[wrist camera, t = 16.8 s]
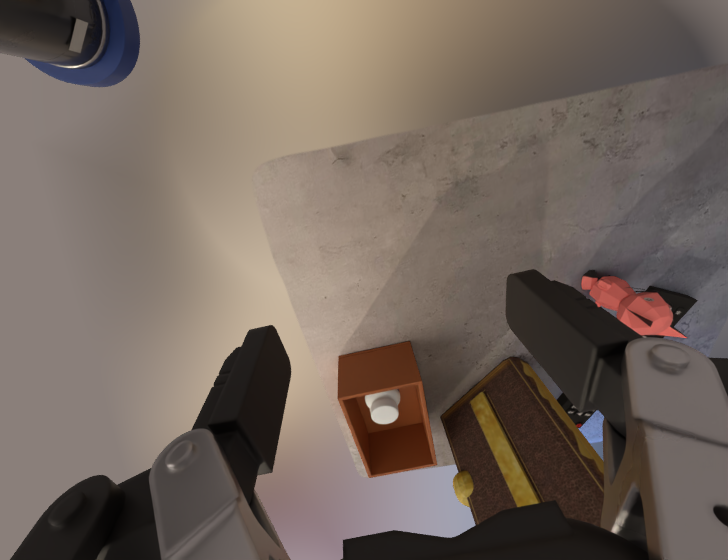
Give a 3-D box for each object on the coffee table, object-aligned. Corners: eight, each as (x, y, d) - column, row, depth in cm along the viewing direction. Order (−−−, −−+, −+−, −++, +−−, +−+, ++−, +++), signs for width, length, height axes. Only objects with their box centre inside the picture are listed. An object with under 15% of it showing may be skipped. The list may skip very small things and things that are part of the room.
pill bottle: (394, 353, 49) (405, 401, 40) (393, 376, 51) (403, 426, 43) (362, 355, 48) (365, 404, 40) (363, 378, 51) (366, 429, 42)
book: (506, 351, 51) (631, 525, 29) (538, 369, 53) (675, 542, 31) (426, 423, 59) (475, 602, 37) (457, 436, 61) (520, 611, 39)
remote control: (542, 417, 60) (548, 426, 58) (649, 285, 46) (662, 292, 44) (573, 422, 61) (580, 431, 60) (687, 295, 47) (700, 301, 46)
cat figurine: (626, 270, 44) (714, 316, 34) (596, 307, 47) (669, 359, 37) (589, 258, 43) (669, 302, 32) (561, 296, 46) (626, 348, 35)
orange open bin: (338, 356, 49) (337, 398, 41) (409, 340, 48) (421, 381, 41) (365, 432, 59) (369, 478, 51) (425, 420, 58) (437, 465, 51)
